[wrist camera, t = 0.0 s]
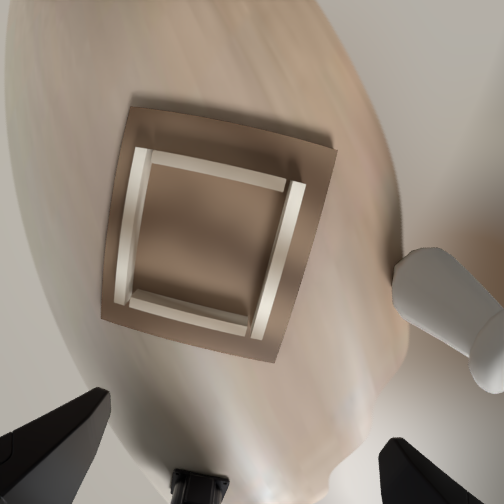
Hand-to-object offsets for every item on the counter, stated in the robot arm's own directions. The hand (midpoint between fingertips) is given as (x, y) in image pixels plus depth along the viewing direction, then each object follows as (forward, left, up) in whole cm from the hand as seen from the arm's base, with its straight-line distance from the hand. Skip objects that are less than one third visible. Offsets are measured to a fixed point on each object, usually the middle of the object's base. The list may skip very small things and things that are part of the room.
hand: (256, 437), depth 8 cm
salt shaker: (+3, -12, -15) cm, 19 cm away
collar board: (+2, +4, -15) cm, 15 cm away
